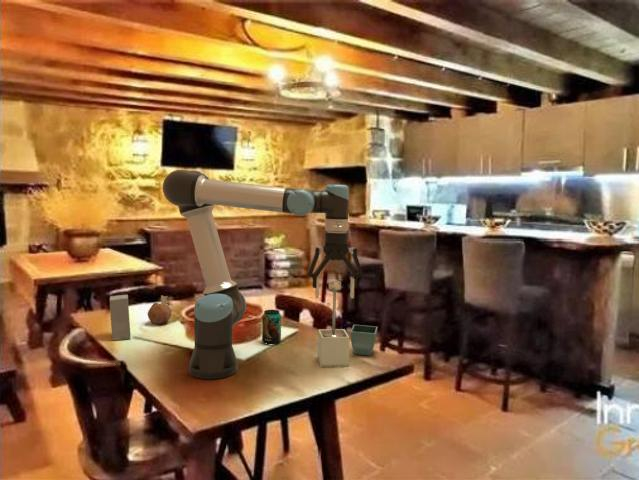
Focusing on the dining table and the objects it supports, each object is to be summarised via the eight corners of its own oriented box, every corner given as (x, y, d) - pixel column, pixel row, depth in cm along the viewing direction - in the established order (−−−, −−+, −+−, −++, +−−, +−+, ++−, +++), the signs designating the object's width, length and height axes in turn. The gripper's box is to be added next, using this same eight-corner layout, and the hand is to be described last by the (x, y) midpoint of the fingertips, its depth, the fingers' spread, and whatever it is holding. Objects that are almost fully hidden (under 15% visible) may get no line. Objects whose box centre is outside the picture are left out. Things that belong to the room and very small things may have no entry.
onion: (151, 330, 202) (141, 308, 202) (171, 321, 207) (161, 300, 207) (157, 327, 194) (147, 305, 194) (178, 318, 200) (168, 296, 200)
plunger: (325, 339, 157) (326, 283, 155) (322, 333, 163) (323, 280, 161) (344, 339, 158) (346, 283, 156) (341, 333, 164) (343, 280, 162)
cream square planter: (320, 367, 156) (321, 337, 155) (317, 357, 165) (318, 329, 164) (348, 366, 157) (349, 337, 156) (343, 357, 166) (344, 329, 165)
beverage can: (258, 344, 178) (259, 312, 177) (266, 338, 185) (267, 308, 184) (276, 346, 176) (276, 314, 175) (283, 340, 183) (284, 310, 181)
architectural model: (168, 309, 226) (168, 294, 225) (174, 312, 221) (174, 297, 220) (161, 310, 224) (161, 295, 223) (167, 313, 219) (167, 298, 218)
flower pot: (374, 358, 166) (375, 333, 165) (349, 356, 168) (350, 331, 167) (376, 350, 175) (377, 326, 174) (352, 348, 176) (353, 324, 175)
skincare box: (130, 339, 179) (129, 298, 178) (109, 341, 177) (109, 299, 175) (130, 333, 187) (129, 293, 186) (110, 334, 185) (109, 294, 183)
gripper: (301, 232, 152) (300, 300, 154) (374, 233, 155) (371, 299, 157) (299, 230, 159) (298, 295, 161) (368, 231, 162) (366, 294, 164)
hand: (334, 297), depth 159 cm, fingers open, 11 cm apart
